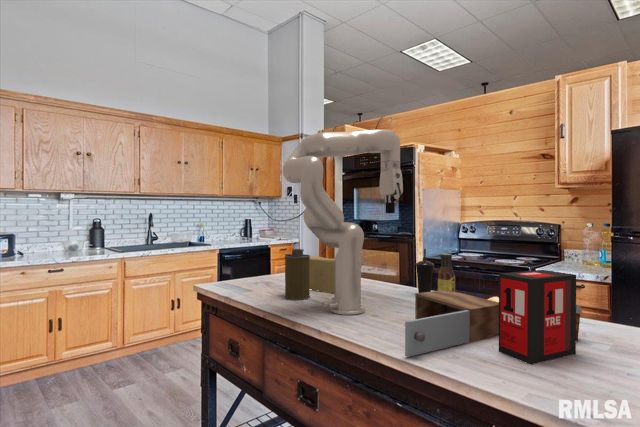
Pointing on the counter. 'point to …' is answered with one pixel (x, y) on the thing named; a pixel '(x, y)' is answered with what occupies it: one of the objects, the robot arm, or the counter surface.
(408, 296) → the counter surface
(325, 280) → the cheese
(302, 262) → the canister
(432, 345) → the door
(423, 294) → the cabinet
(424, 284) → the drinking cup
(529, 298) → the cleaning product box
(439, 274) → the sauce bottle
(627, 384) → the counter surface
